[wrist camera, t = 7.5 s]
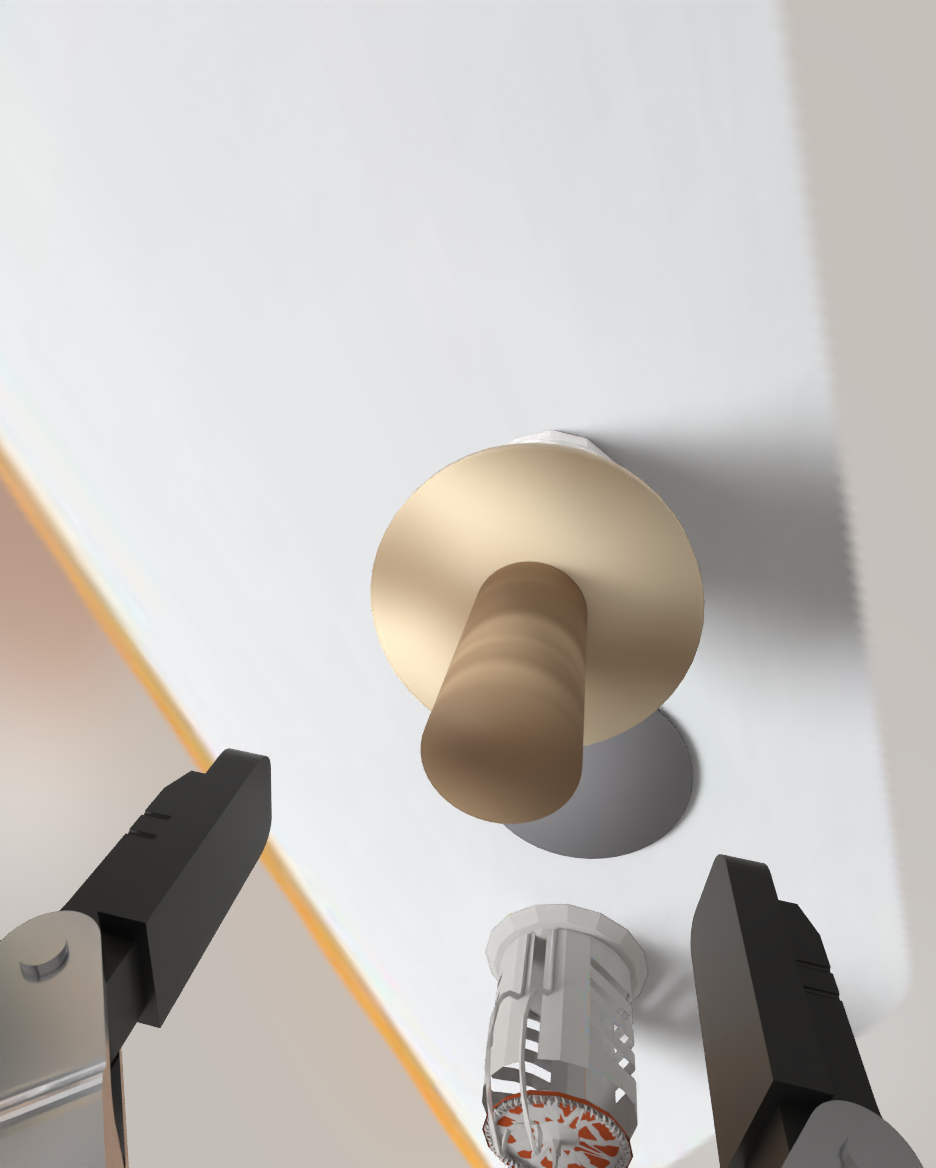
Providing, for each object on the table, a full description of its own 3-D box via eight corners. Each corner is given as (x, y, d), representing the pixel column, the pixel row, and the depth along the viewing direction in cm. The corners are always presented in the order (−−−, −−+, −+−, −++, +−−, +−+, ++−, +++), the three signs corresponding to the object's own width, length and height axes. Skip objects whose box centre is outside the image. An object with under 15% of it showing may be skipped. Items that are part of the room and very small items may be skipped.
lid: (386, 419, 20) (268, 494, 13) (740, 470, 19) (826, 582, 12) (371, 705, 24) (276, 881, 17) (659, 761, 23) (686, 975, 16)
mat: (491, 663, 34) (490, 667, 34) (716, 706, 33) (718, 710, 32) (466, 829, 38) (465, 833, 38) (663, 872, 37) (663, 877, 37)
